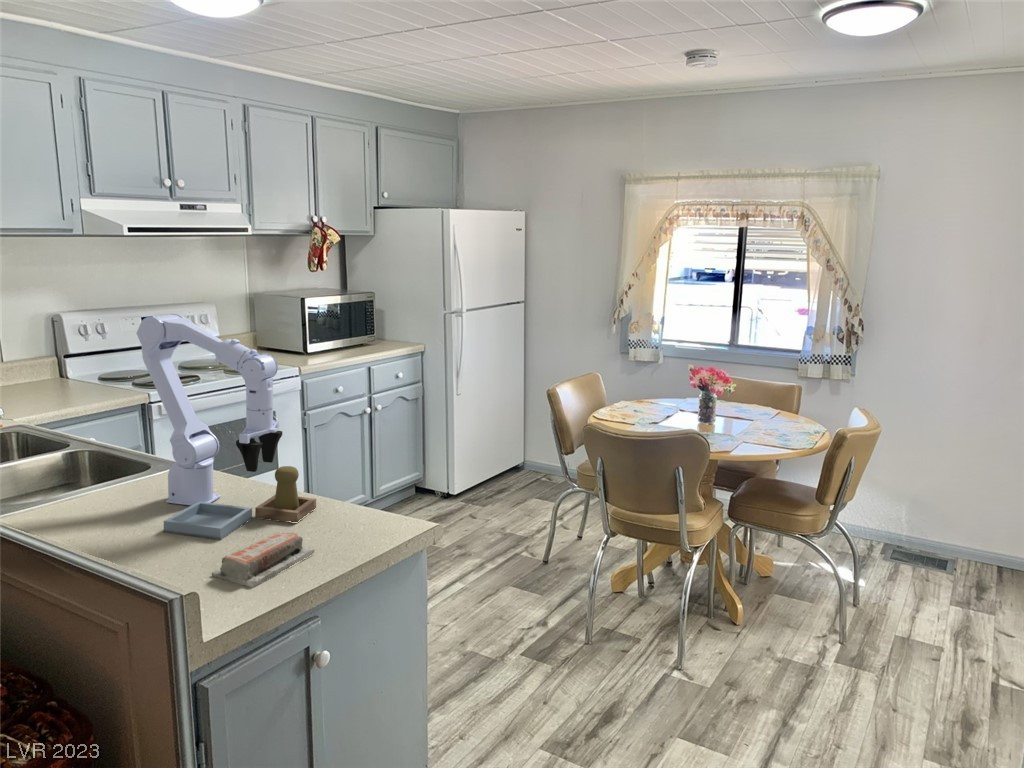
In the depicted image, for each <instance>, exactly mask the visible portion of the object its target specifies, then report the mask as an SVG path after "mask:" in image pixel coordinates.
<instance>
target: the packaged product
mask: <svg viewBox="0 0 1024 768" xmlns="http://www.w3.org/2000/svg"><path fill="white" fill-rule="evenodd" d="M315 550H316V549H315V548H311V547H305V546H303V536H301V535H299V534H297V533H296V532H294V531H293V532H277V533H274V534H272V535H269V536H267V537H265V538H262V539H260V540H258V541H256V542H254V543H252V544H249V545H247V546H245V547H243V548H240V549H238V550H236V551H234V552H232V553H230V554H227V555H224V556H223V557H222V558H221V563H222V564H221V566H220V568H219V569H216V570H214V571H212V572H211V576H212V577H214V578H218V579H221V580H223V581H224V580H225V581H228V582H231V583H236V584H238V585H242V586H244V587H248V588H255V587H257V586H259V585H261V584H262V583H264V582H266V581H268V580H270V579H272V578H274V577H276V576H277V575H276V574H278V573H280V572H281V571H283V570H285V569H287V568H289V567H290V566H292V565H294V564H295V563H297V562H299V561H301V560H303V559H304V558H307V557H309V556H310V555H312V554H313V553H314V554H315ZM312 556H313V555H312ZM309 558H310V557H309ZM307 559H308V558H307ZM289 569H290V568H289ZM280 574H281V573H280ZM275 575H276V576H275ZM278 575H279V574H278ZM273 576H274V577H273ZM271 577H272V578H271ZM269 578H270V579H269ZM267 579H268V580H267ZM260 583H261V584H260Z"/></svg>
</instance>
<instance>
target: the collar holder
mask: <svg viewBox="0 0 1024 768" xmlns="http://www.w3.org/2000/svg"><path fill="white" fill-rule="evenodd" d="M275 495H276V494H273V496H271V497H269V498H267V499H266V500H265V501H264V502H262V503H260V504H258V505H257V506H256V507H255V512H254V513H255V519H257V518H263V519H262V520H265V519H271V520H270V521H273V520H279V521H278V522H280V521H291V522H298V521H299V520H300V519H302V518H303V517H304V516H306V515H307V514H308V513H310V512H311V511H312V510H314V509H315V508H316V509H317V498H312V497H304V496H298V501H299V508H297V509H296V510H295V511H294V510H286V509H278V508H274V502H275ZM314 511H315V510H314ZM310 514H311V513H310ZM306 517H307V516H306Z"/></svg>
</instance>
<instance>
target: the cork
mask: <svg viewBox="0 0 1024 768" xmlns="http://www.w3.org/2000/svg"><path fill="white" fill-rule="evenodd" d="M274 479H275V481H276V483H277V484H276V487H275V494H274V495H275V502H274V508H278V509H286V510H294V511H295V510H296V509H297V508H299V501H298V497H299V496H298V487H297V485H298V484H297V481H298V479H299V470H298V469H297V468H296V467H294V466H291V465H290V466H289V465H285V466H284V465H283V466H280V467H278V468H277V469H276V470H275V472H274Z"/></svg>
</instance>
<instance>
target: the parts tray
mask: <svg viewBox="0 0 1024 768" xmlns="http://www.w3.org/2000/svg"><path fill="white" fill-rule="evenodd" d="M250 519H251V520H252V519H253V507H246V506H240V505H239V506H238V505H229V504H222V503H216V502H215V503H213V502H211V503H208V502H200V501H199V502H197V503H195V504H193V505H191V506H190V505H189V506H188V507H186V508H185V509H183V510H181V511H178V512H177V513H175V514H174V515H172V516H170V517H168V518H166V519H165V520H163V532H164V533H166V532H167V534H173V533H174V534H173V535H180V534H181V536H188V537H197V538H203V539H212V540H219V541H221V540H223V539H225V538H226V537H227V536H229V535H230V534H232V533H233V532H235V531H237V530H238V529H239V528H241V527H242V526H243V524H244V525H245V524H246V522H247V521H248V522H249V520H250ZM251 520H250V521H251ZM248 522H247V523H248ZM241 525H242V526H241ZM240 526H241V527H240ZM238 527H239V528H238ZM237 528H238V529H237ZM234 530H235V531H234ZM231 532H232V533H231ZM228 534H229V535H228Z"/></svg>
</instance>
